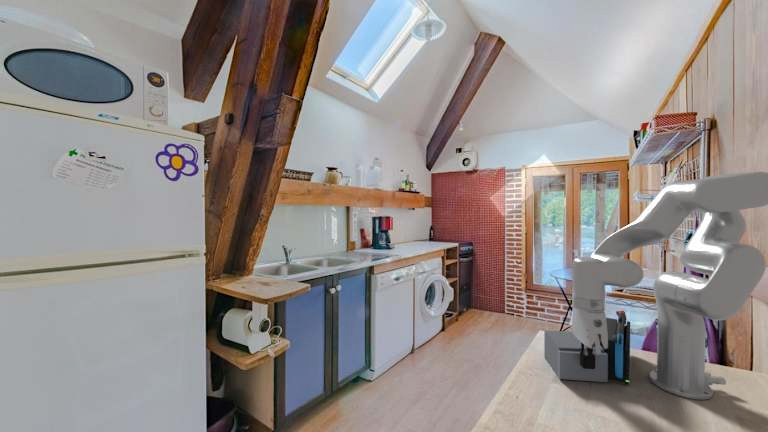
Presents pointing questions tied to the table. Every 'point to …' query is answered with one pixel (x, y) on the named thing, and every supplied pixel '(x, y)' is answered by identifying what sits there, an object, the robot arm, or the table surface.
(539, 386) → the table surface
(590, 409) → the table surface
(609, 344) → the game console
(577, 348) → the grey box
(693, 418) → the table surface
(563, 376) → the drawer
